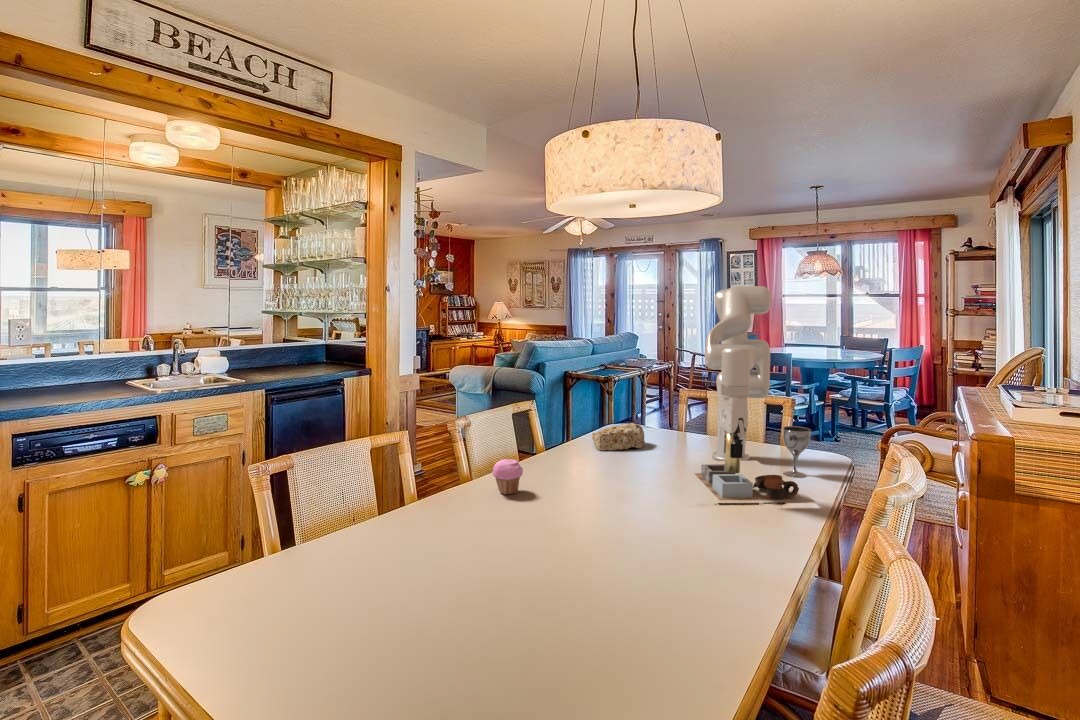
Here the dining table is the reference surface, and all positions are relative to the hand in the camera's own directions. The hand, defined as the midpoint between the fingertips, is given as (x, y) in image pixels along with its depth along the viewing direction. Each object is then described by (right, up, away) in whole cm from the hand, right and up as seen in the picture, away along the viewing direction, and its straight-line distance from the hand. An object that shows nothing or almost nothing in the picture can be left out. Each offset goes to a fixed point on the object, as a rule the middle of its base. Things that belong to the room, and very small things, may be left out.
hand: (733, 454), depth 157 cm
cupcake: (-64, -12, +7) cm, 65 cm away
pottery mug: (+12, -13, 0) cm, 17 cm away
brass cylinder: (0, -5, 0) cm, 5 cm away
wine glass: (+28, -10, +23) cm, 37 cm away
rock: (-24, -7, +60) cm, 65 cm away
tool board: (0, -12, +7) cm, 14 cm away
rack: (0, -11, +1) cm, 11 cm away
